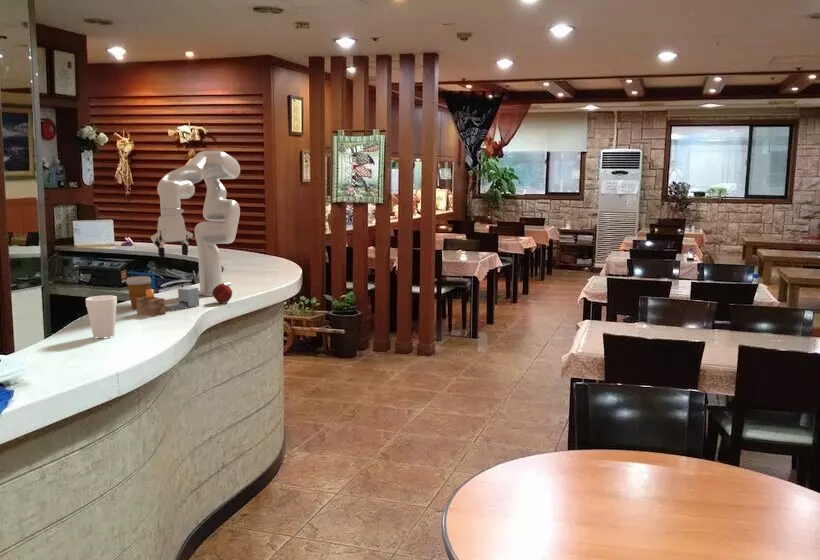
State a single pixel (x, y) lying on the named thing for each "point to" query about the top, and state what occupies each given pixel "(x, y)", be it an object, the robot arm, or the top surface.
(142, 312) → the tan slotted block
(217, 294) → the apple
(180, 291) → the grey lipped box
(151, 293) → the peg
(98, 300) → the foam cup
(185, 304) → the rail
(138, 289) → the disposable coffee cup
